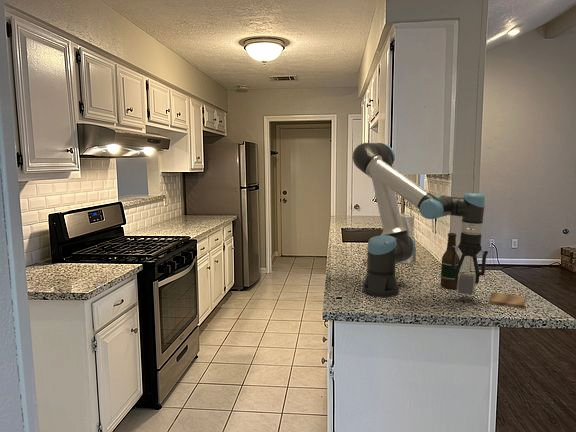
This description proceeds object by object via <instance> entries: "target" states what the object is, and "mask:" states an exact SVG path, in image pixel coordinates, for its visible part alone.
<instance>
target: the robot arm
mask: <svg viewBox="0 0 576 432" xmlns="http://www.w3.org/2000/svg"><path fill="white" fill-rule="evenodd" d="M352 152H353V153H352V162H353V164H354V166H355V167H356V168H358V170H360V172H362V173H364V174H365V175H366V176H367V177H369V178H370V179H371V181H372V185H373V190H374V194H375V199H376V202H377V207H378V212H379V216H380V217H379V218H380V222H381V225H382V229H383V230H382V233H381V234H380V235H375V236H372V237H371V238H369V240H368V242H367V248H366V249H367V261H366V263H367V264H366V265H367V267H366V268H367V269H366V270H367V271H366V275H365V278H364V281H363V284H362V292H363V294H366V295H367V296H368V295H369V296H372V297H379V298H389V297H391V298H392V297H395V296H397V295H398V294H399V293H400V287H399V283H398V280H397V276H396V265H397V264H400V263H399V262H402V261H406V260H407V259H409V258H410V257H411V256H412V257H413V254H414V251H415V247H416V242H415V243H414V241H415V240H414V239H413V236H412V237H410V236H409V235H408V232H407V229H406V228H404V227H403V226H402V221H401V217H400V215H401V213H400V209H399V204H398V200H397V195H399V196H400V197H401V198H403V199H404V200H406V201H407V202H409V203H410V204H411V205H412V206H414V207H415V208H416V209H418V210H419V212H420V215H421V216H422V217H423V218H424V219H427V220H437V219H439V218H443V217H446V216H453V217H454V216H455V217H461V218H462V219H461V226H460V227H461V228H460V231H461V233H460V238H459V240H460V241H459V243H458V245H456V246H452V248H451V249H452V263H451V271H454V272H455V281H458V283H457V289H456V290H458V286H459V277H460V276H461V273H462V272H460V271H461V267H462V265H463V263H464V260H465V258H466V257H471V258H472V262H473V266H474V272H475V274H473V275H474V280H473V290H472V293H475V291H476V284H477V285H478V284H479V283H480V276H485V273H486V262H487V255H488V253H489V249H484V248H483V247H482V232H483V224H484V223H483V222H484V216H485V215H484V214H485V212H484V211H485V206H486V205H485V201H486V200H485V195H484V194H482V193H477V192H476V193H473V192H469V193H468V192H467V193H464V195H463V197H457V196H450V195H449V196H448V195H436V196H435V195H434V194H432V193H430V192H429V191H428V190H426V189H425V188H423V187H422V186H420V185H419V184H418V183H417V182H415V181H413V180H412V179H411V178H409V177H407V176H406V175H405V174H404V173H402V172H401V171H399V170H397V169H396V168H394V166H393V165H394V162H395V160H396V159H395V158H396V156H395V152H394V149H392V147H391V146H390V145H388V144H385V143H382V142H363V143H360V144H359V145H357V146H356V147H355V149H354V151H352ZM396 194H397V195H396ZM458 250H459V251H460V252H461V256H460V258H459V259H460V261H459V264H458V266H457V269H456V268H455V262H456V252H458ZM479 253H481V255H482V258H481V269H480V268H479V262H478V257H477V256H478V254H479Z"/></svg>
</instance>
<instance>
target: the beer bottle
mask: <svg viewBox="0 0 576 432" xmlns="http://www.w3.org/2000/svg"><path fill="white" fill-rule="evenodd" d="M456 242H457V234H456V232H455V233H454V232H449V233H447V244H446V250H445V252H443V254H442V256H441V268H440V270H441V271H440V287H441V288H444V289H447V290H457V289H456V288H457V283H458V281H455V272H454V271H451V263H452V249H451V248H452V246H457V243H456ZM457 252H458V251H456V262H455V268H456V269H457V266H458V264H459V261H460V259H461V258H460V256H459V254H458V253H457Z"/></svg>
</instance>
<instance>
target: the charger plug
mask: <svg viewBox="0 0 576 432" xmlns="http://www.w3.org/2000/svg"><path fill="white" fill-rule="evenodd" d="M473 280H474V274H470V273H465V272H464V273H463V272H461V276H460V277H459V286H458V289H457V293H458V294H464V295H469V296H472V295H473V292H472V290H473Z"/></svg>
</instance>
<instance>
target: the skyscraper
mask: <svg viewBox="0 0 576 432" xmlns="http://www.w3.org/2000/svg"><path fill="white" fill-rule="evenodd" d="M400 217H401V221H402V226H403V227H404V228H406V229H407V232H408V235H409V236H410V237H412V238H413V233H414V224H415V216H414V214H413V213H412V212H410V211H404V212H403V213H400ZM413 240H414V243H415V244H416V239H413ZM416 250H417V246H415V251H414V254H413V255H412V256H411V257H410V258H409V259H407V260H406V261H402V262H399V263H398V264H403V265H405V264H406V265H414V264H416V263H417V260H416V259H417V258H416V256H417V255H416V254H417V253H416Z"/></svg>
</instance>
